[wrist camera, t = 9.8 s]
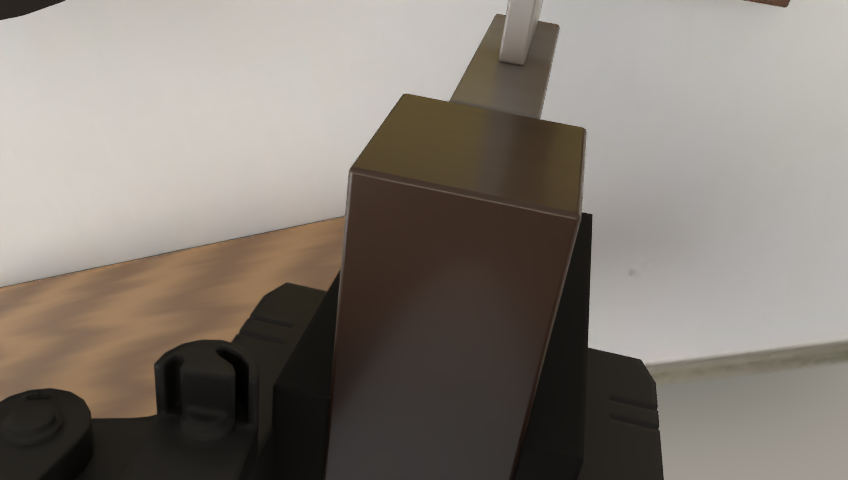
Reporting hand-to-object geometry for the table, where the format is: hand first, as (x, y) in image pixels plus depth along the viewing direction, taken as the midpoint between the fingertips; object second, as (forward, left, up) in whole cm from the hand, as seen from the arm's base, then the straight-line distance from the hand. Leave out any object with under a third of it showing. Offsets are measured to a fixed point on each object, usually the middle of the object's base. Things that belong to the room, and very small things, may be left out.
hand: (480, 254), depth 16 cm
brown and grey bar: (+7, 0, -1) cm, 7 cm away
